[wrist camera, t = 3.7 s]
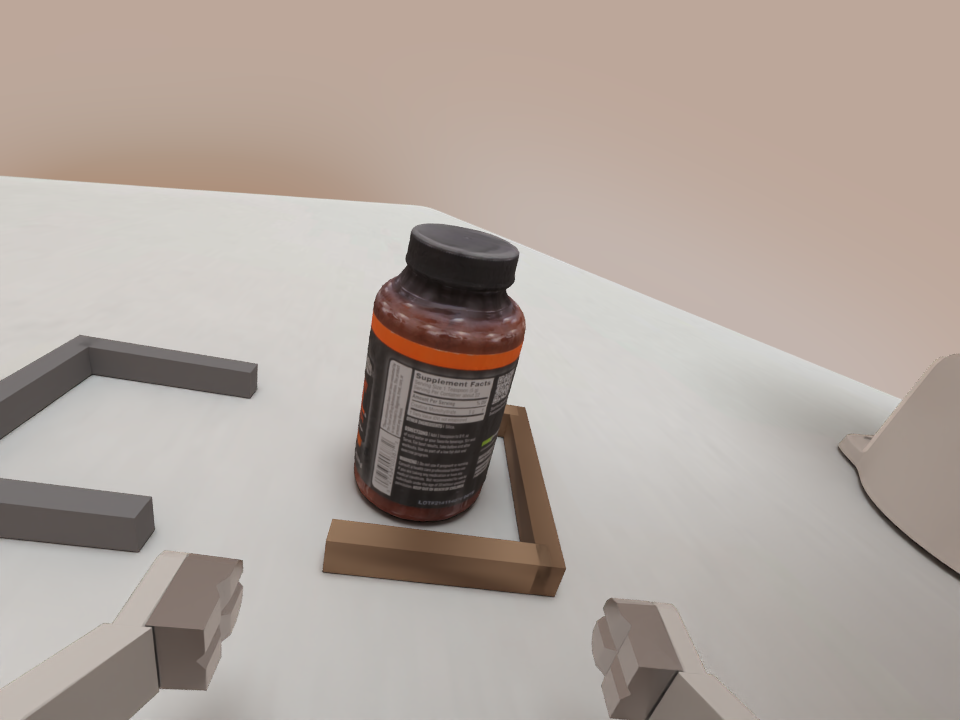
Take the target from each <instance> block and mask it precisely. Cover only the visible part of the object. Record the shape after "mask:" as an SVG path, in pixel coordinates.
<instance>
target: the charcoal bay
mask: <svg viewBox="0 0 960 720" xmlns="http://www.w3.org/2000/svg"><path fill="white" fill-rule="evenodd" d="M257 367H258V364H255V363H249V362H243V361H237V360H230V359H224V358H218V357H212V356H206V355H200V354H194V353H187V352H181V351H175V350H169V349H163V348H157V347H151V346H144V345H138V344H132V343H126V342H120V341H114V340H108V339H101V338H95V337H89V336H83V335H79V336H77V337H76V338H74V339H72V340H70V341H69V342H67V343H65V344H63V345H62V346H60V347H58V348H57V349H55V350H53V351H51V352H50V353H48V354H46V355H44V356H43V357H41V358H39V359H38V360H36V361H34V362H32V363H31V364H29V365H27V366H25V367H24V368H22V369H20V370H18V371H17V372H15V373H13V374H12V375H10V376H8V377H6V378H5V379H3V380H1V381H0V439H1V438H2V437H4V436H5V435H6V434H8V433H9V432H11V431H12V430H13V429H15V428H16V427H18V426H19V425H21V424H22V423H23V422H25V421H26V420H28V419H29V418H30V417H32V416H33V415H35V414H36V413H38V412H39V411H40V410H42V409H43V408H45V407H46V406H47V405H49V404H50V403H52V402H53V401H55V400H56V399H57V398H59V397H60V396H62V395H63V394H64V393H66V392H67V391H69V390H70V389H71V388H73V387H74V386H76V385H77V384H79V383H80V382H81V381H83V380H84V379H86V378H87V377H88V376H90V375H91V374H96V375H102V376H109V377H115V378H122V379H128V380H135V381H141V382H148V383H155V384H161V385H168V386H174V387H181V388H187V389H194V390H200V391H207V392H213V393H220V394H226V395H233V396H239V397H246V398H250V397H251V396H252V395H253V393H254V392H255V391H256V389H257ZM154 530H155V526H154V515H153V504H152V497H150V496H142V495H134V494H126V493H118V492H109V491H101V490H93V489H85V488H77V487H69V486H60V485H52V484H44V483H36V482H28V481H20V480H12V479H3V478H0V537H4V538H13V539H22V540H32V541H41V542H50V543H60V544H69V545H78V546H88V547H97V548H106V549H115V550H125V551H134V552H139V550H140V549H141V548H142V546H143V545H144V544H145V542H146V541H147V539H148V538H149V537H150V535H151V534H152V533H153V531H154Z"/></svg>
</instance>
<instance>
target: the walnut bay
mask: <svg viewBox="0 0 960 720" xmlns="http://www.w3.org/2000/svg"><path fill="white" fill-rule="evenodd" d="M497 436H501V437H503V438H504V444H505V450H506V456H507V463H508V469H509V475H510V481H511V487H512V493H513V500H514V506H515V512H516V518H517V524H518V530H519V537H520V542H517V541H509V540H501V539H493V538H485V537H476V536H468V535H460V534H452V533H444V532H436V531H427V530H419V529H411V528H403V527H395V526H387V525H379V524H370V523H362V522H354V521H346V520H338V519H332V522H331V526H330V529H329V532H328V536H327V539H326V545H325V554H324V563H323V572H330V573H339V574H348V575H358V576H367V577H376V578H385V579H395V580H404V581H413V582H423V583H432V584H441V585H451V586H460V587H469V588H479V589H488V590H497V591H507V592H516V593H525V594H535V595H544V596H553V597H555V594H556V592H557V589H558V587H559V584H560V582H561V580H562V577H563V575H564V572H565V570H566V566H565V562H564V558H563V554H562V551H561V547H560V543H559V539H558V535H557V531H556V527H555V523H554V519H553V515H552V511H551V507H550V503H549V499H548V496H547V492H546V488H545V484H544V480H543V476H542V472H541V468H540V464H539V460H538V456H537V452H536V448H535V444H534V440H533V437H532V433H531V429H530V425H529V421H528V417H527V413H526V409H525V407H519V406H513V405H507V404H506V406H505V410H504V414H503V417H502V421H501V424H500V428H499V431H498V435H497Z"/></svg>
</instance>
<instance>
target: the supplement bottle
mask: <svg viewBox="0 0 960 720" xmlns="http://www.w3.org/2000/svg"><path fill="white" fill-rule="evenodd" d="M518 258H519V251H518V249H517V248H516V247H515V246H513V245H512V244H510V243H509V242H507V241H505V240H503V239H501V238H499V237H497V236H494V235H491V234H488V233H484V232H481V231H477V230H472V229H468V228H463V227H458V226H452V225H446V224H421V225H417V226H415V227H414V228H413V229H412V231H411V235H410V242H409V246H408V252H407V255H406V263H407V266H406V268H405V269H404V270H403V271H402V272H401V273H400V274H399V275H398V276H397V277H394V278H392V279H390V280H389V281H388V282H386V283H385V284H384V285H383V286H382V288H381V289H380V290H379V292H378V293H377V295H376V299H375V301H374V308H373V316H372V324H371V331H370V336H369V345H368V353H367V361H366V369H365V380H364V388H363V394H362V403H361V411H360V417H359V425H358V434H357V440H356V448H355V458H354V459H355V463H354V473H355V478H356V482H357V484H358V486H359V488H360V492H361V493H362V494H363V495H364V496H365V497H366V498H367V499H368V500H369V501H370V502H371V503H373V504H374V505H375V506H377V507H378V508H380V509H381V510H383V511H384V512H387V513H389V514H391V515H394V516H396V517H399V518H401V519H407V520H414V521H422V522H424V521H437V520H444V519H447V518H450V517H453V516H455V515H457V514H459V513H461V512H463V511H465V510H466V509H467V508H469V507H470V506H471V505H472V504H473V503H474V502H475V500H476V499H477V497H478V495H479V494H480V491H481V489H482V486H483V483H484V481H485V478H486V475H487V470H488V467H489V463H490V460H491V456H492V453H493V449H494V445H495V442H496V439H497V435H498V431H499V428H500V424H501V421H502V417H503V414H504V410H505V406H506V403H507V399H508V395H509V392H510V389H511V384H512V381H513V378H514V374H515V371H516V367H517V364H518V360H519V355H520V351H521V348H522V344H523V341H524V334H525V329H526V324H525V318H524V314H523V312H522V311H521V309H520V307H519V306H518V305H517V303H516V302H515V301H514V300H513V299H512V298H511V297H509V296H508V295H507V293H506V289H507V288H509V287H510V286H511V285H512V284H513V283H514V281H515V271H516V266H517V262H518Z"/></svg>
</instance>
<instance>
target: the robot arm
mask: <svg viewBox="0 0 960 720" xmlns="http://www.w3.org/2000/svg"><path fill="white" fill-rule="evenodd" d="M839 448H840V449H841V451H842V452H843V453H844V454H845V455H846V456H847V458H848V459H849V460H850V461H851V462H852V463H853V464H854V465H855V466H856V468H857V470H858V472H859V476H860V480H861V483H862V485H863V487H864V489H865V491H866V492H867V494H868V495H869V497H870V498H871V500H872V501H873V502H874V503H875V504H876V506H877V507H878V508H879V509H880V510H881V511H882V512H883V513H884V514H885V515H886V516H887V517H888V518H889V519H890V520H891V521H892V522H893V523H894V524H895V525H896V526H897V527H899V528H900V529H901V530H902V531H903V532H904V533H905V534H907V535H908V536H909V537H910V538H911V539H913V540H914V541H915V542H916V543H918V544H919V545H920V546H922V547H923V548H924V549H925V550H927V551H928V552H929V553H931V554H932V555H933V556H935V557H936V558H938V559H939V560H940V561H942V562H943V563H945V564H946V565H947V566H949V567H950V568H952V569H953V570H955V571H956V572H958V573H959V574H960V354H953V355H950V356H947V357H940V358H938V359H936V360H935V361H934V362H933V363H932V364H931V365H930V366H929V367H928V369H927V370H926V371H925V372H924V374H923V375H922V376H921V377H920V379H919V380H918V381H917V382H916V384H915V385H914V386H913V387H912V389H911V390H910V391H909V392H908V394H907V395H906V396H905V398H904V399H903V400H902V401H901V402H900V404H899V405H898V406H897V407H896V409H895V410H894V411H893V413H892V414H891V415H890V416H889V418H888V419H887V420H886V421H885V423H884V424H883V425H882V427H881V428H880V429H879V430H878V432H877V433H876V434H875V435H860V434H848V435H846V437H845V438H844V439H843V440H842V441H841V442H840V443H839ZM242 573H243V560H238V559H230V558H223V557H215V556H208V555H200V554H193V553H184V552H175V551H167V550H165V551H163V552H162V553H161V554H160V555H159V556H158V557H157V558H156V559H155V561H154V562H153V564H152V565H151V567H150V568H149V570H148V571H147V573H146V574H145V575H144V577H143V578H142V580H141V581H140V583H139V584H138V586H137V587H136V589H135V590H134V592H133V593H132V595H131V596H130V598H129V599H128V601H127V602H126V604H125V605H124V607H123V608H122V610H121V611H120V612H119V614H118V615H117V617H116V618H115V620H114V621H113V623H112V624H109V623H103V624H102V625H100V626H98V627H97V628H95V629H94V630H92V631H91V632H89V633H87V634H86V635H84V636H83V637H81V638H80V639H78V640H77V641H75V642H73V643H72V644H70V645H69V646H67V647H66V648H64V649H62V650H61V651H59V652H58V653H56V654H55V655H53V656H52V657H50V658H48V659H47V660H45V661H44V662H42V663H41V664H39V665H37V666H36V667H34V668H33V669H31V670H30V671H28V672H27V673H25V674H23V675H22V676H20V677H19V678H17V679H16V680H14V681H12V682H11V683H9V684H8V685H6V686H5V687H3V688H2V689H0V720H129V719H130V718H131V717H132V716H133V715H134V714H136V713H137V712H138V711H139V710H140V709H141V708H142V707H143V706H144V705H145V704H146V703H147V702H149V701H150V700H151V699H152V698H153V697H154V696H155V695H156V694H157V693H158V692H159V689H178V690H204V691H207V689H208V686H209V684H210V682H211V679H212V677H213V675H214V672H215V670H216V668H217V666H218V663H219V661H220V659H221V642H222V641H223V640H225V639H226V638H227V637H228V636H230V635H231V633H232V630H233V628H234V626H235V623H236V621H237V617H238V614H239V611H240V607H241V602H242V596H243V586H242V585H241V584H240V583H239V579H240V577H241V575H242ZM603 610H604V613H605V616H604V617H602V618H601V619H599V620H598V621H597V622H596V624H595V627H594V629H593V634H592V652H593V657H594V661H595V665H596V666H597V668H598V669H599V670H600V671H601V672H602V673H603V675H604V676H605V677H604V680H603V682H602V685H601V688H602V691H603V695H604V699H605V703H606V706H607V710H608V714H609V717H610V718H612V719H622V720H759V719H758V718H757V717H756V716H755V715H754V714H753V713H752V712H751V711H750V710H749V709H748V708H747V707H746V706H745V705H744V704H743V703H742V702H741V701H740V700H739V699H738V698H737V697H736V696H735V695H734V694H733V693H732V692H730V691H729V690H728V689H727V688H726V687H725V686H724V685H723V684H722V683H721V682H720V681H719V680H718V679H717V678H716V677H715V676H714V675H711V674H707V673H706V670H705V668H704V666H703V664H702V662H701V660H700V658H699V655H698V653H697V651H696V649H695V647H694V645H693V643H692V641H691V638H690V636H689V634H688V632H687V630H686V628H685V626H684V623H683V621H682V619H681V617H680V615H679V613H678V611H677V609H676V608H675V607H674V606H673V605H672V604H666V603H656V602H649V601H641V600H629V599H618V598H610V599H609V600H607V601H606V603H605V605H604V607H603Z"/></svg>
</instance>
